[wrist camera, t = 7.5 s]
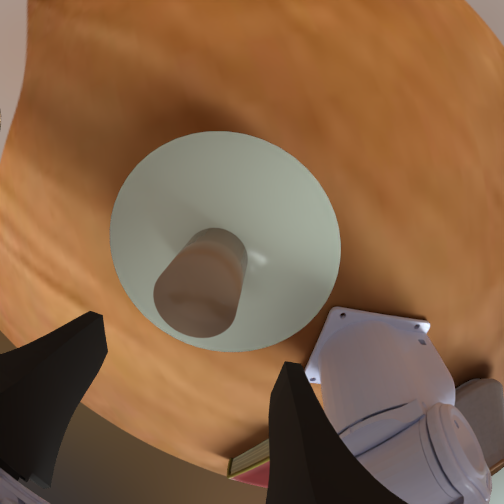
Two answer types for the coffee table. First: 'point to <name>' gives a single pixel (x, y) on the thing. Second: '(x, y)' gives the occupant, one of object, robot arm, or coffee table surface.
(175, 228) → the lid
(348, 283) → the coffee table surface
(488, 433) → the coffee pot
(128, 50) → the coffee table surface
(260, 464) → the hardcover book
